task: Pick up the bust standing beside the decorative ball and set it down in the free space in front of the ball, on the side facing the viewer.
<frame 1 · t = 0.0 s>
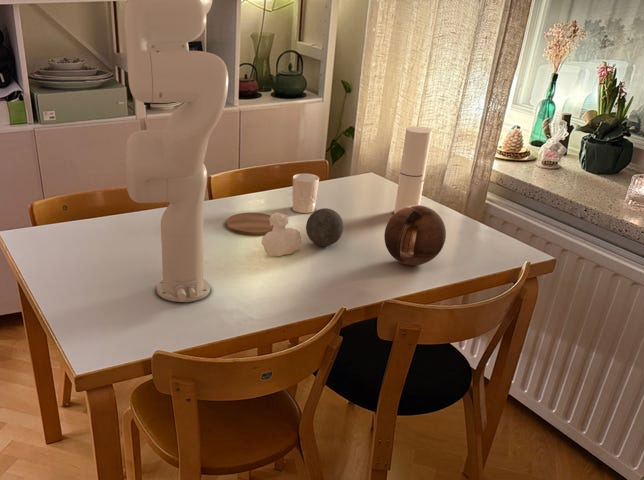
hand: (168, 107, 166), 37 cm above the table, tool pointing down, fingers open, 9 cm apart
white cup: (303, 210, 214), on the table
decorative ball: (323, 245, 190), on the table
bust: (279, 252, 186), on the table
wooden sphere: (410, 263, 180), on the table
round wooden disc: (253, 225, 202), on the table
cylindrical container: (406, 214, 212), on the table
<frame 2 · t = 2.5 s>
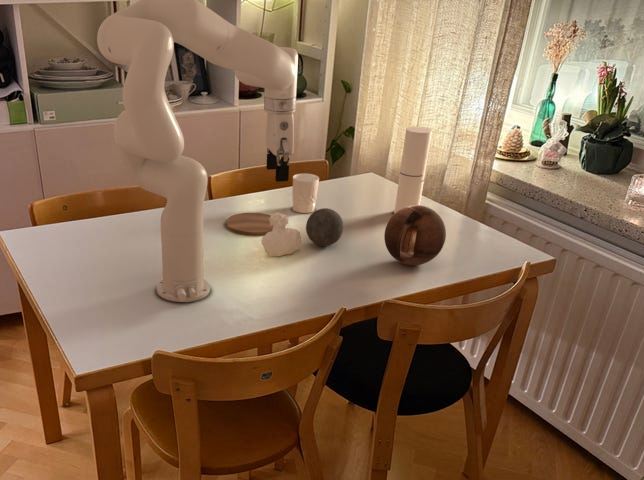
hand: (277, 174, 175), 21 cm above the table, tool pointing down, fingers open, 9 cm apart
nothing on the table moved.
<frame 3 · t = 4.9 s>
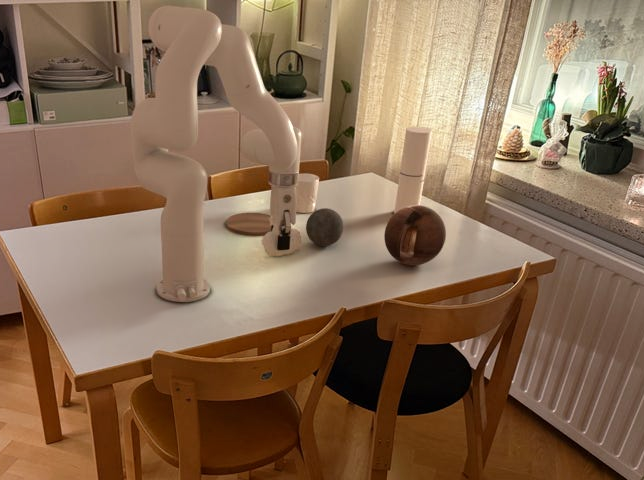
hand: (279, 243, 184), 2 cm above the table, tool pointing down, fingers closed on bust, 7 cm apart
bust: (279, 252, 186), on the table, touching gripper
everything else where it was.
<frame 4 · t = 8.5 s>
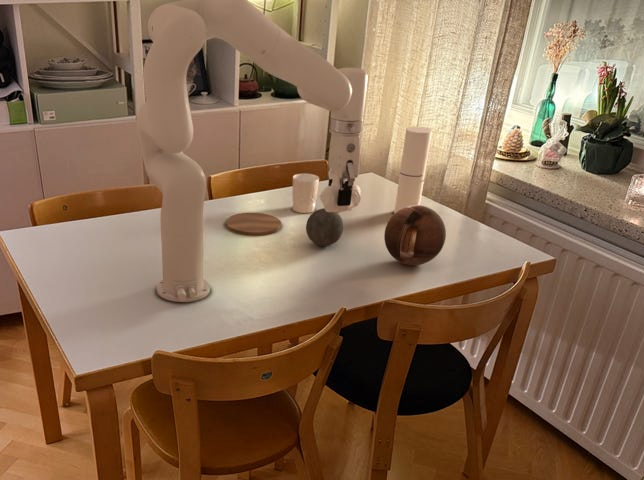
hand: (338, 199, 171), 17 cm above the table, tool pointing down, fingers closed on bust, 7 cm apart
bust: (337, 209, 172), point 14 cm above the table, touching gripper
everything else where it was.
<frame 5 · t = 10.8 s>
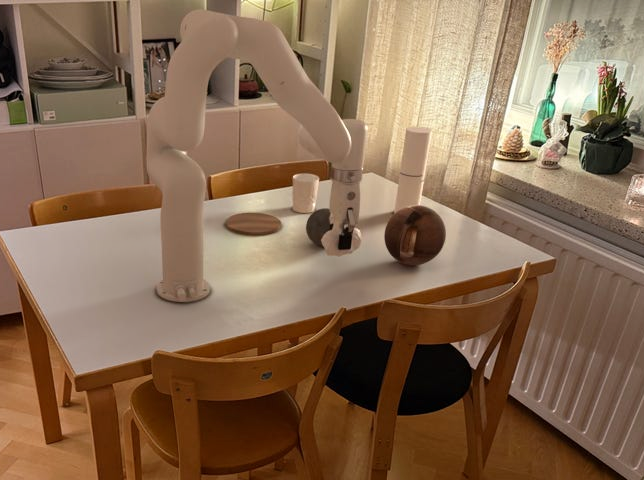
hand: (339, 242, 176), 6 cm above the table, tool pointing down, fingers closed on bust, 7 cm apart
bust: (338, 251, 178), point 3 cm above the table, touching gripper
everything else where it was.
when the fingers open (2 cm above the table, at t = 12.4 s): bust stays where it is, on the table.
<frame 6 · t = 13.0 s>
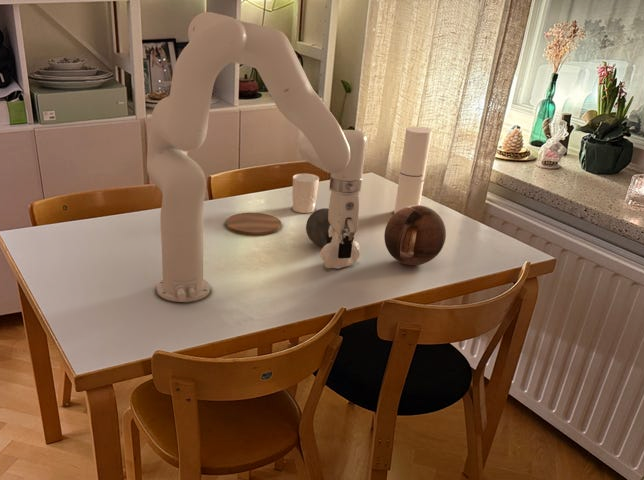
hand: (338, 250, 177), 4 cm above the table, tool pointing down, fingers open, 9 cm apart
bust: (337, 264, 179), on the table
everything else where it was.
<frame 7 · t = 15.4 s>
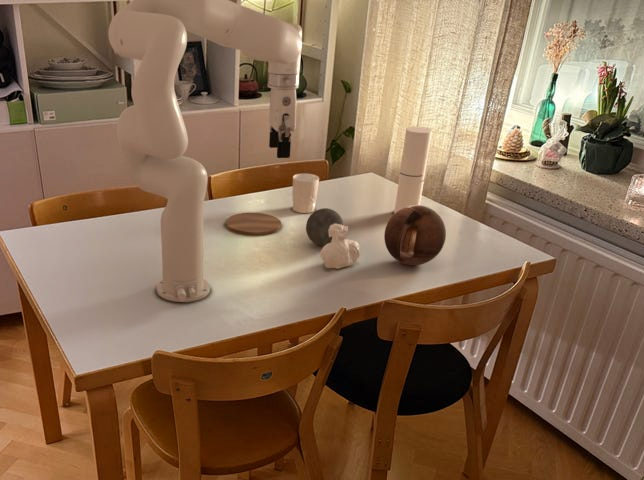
hand: (279, 152, 176), 25 cm above the table, tool pointing down, fingers open, 9 cm apart
nothing on the table moved.
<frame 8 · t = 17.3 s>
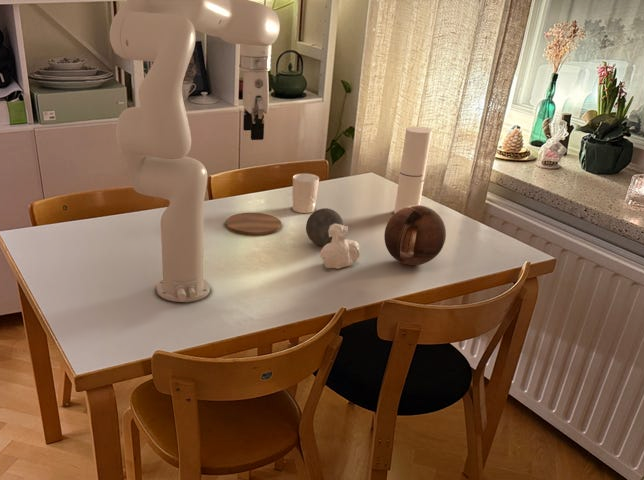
hand: (253, 134, 178), 28 cm above the table, tool pointing down, fingers open, 9 cm apart
nothing on the table moved.
at the end: bust inside the target area on the table beside the decorative ball (0.2 cm from its centre), on the table; bust tilted 0°; decorative ball moved 0.2 cm from its start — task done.
